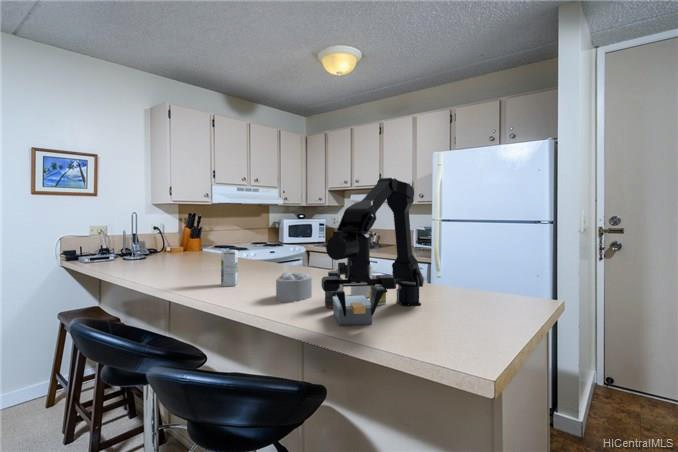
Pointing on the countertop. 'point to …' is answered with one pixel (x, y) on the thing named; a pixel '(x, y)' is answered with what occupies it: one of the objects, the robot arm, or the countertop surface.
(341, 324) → the tub
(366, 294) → the pill bottle
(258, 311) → the countertop surface
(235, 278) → the syrup box
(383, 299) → the supplement bottle
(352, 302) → the lid
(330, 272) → the supplement bottle
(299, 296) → the lumpy-topped squat cylinder
